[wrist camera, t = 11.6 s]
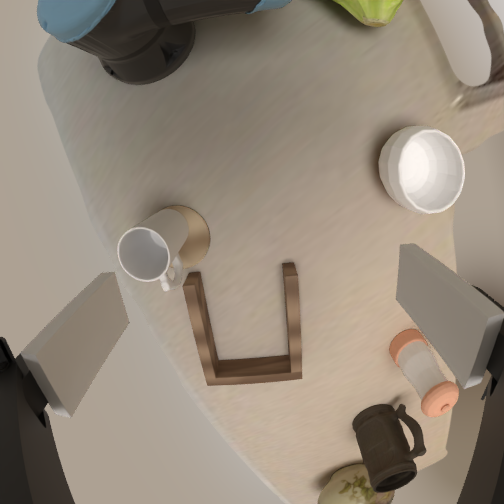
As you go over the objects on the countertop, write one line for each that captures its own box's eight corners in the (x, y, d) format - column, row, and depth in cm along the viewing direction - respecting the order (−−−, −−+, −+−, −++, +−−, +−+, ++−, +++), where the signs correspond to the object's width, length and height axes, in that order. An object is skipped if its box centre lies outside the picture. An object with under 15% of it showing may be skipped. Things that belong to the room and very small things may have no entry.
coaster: (142, 210, 45) (141, 211, 45) (204, 201, 45) (204, 202, 44) (155, 270, 49) (154, 271, 48) (214, 264, 48) (214, 265, 48)
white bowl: (429, 207, 44) (461, 222, 35) (364, 200, 44) (388, 213, 35) (436, 135, 40) (471, 135, 31) (370, 120, 40) (397, 115, 31)
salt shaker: (382, 354, 54) (418, 424, 36) (403, 324, 52) (449, 391, 34) (407, 361, 55) (444, 427, 37) (427, 334, 53) (472, 396, 34)
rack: (189, 272, 49) (182, 286, 44) (293, 262, 48) (297, 275, 43) (210, 368, 55) (207, 385, 50) (299, 361, 54) (302, 378, 49)
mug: (141, 217, 45) (107, 240, 34) (178, 199, 44) (153, 217, 33) (170, 273, 48) (147, 311, 37) (207, 258, 47) (192, 293, 36)
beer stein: (377, 434, 63) (401, 492, 44) (342, 432, 62) (362, 496, 43) (409, 391, 59) (445, 449, 40) (374, 386, 58) (407, 452, 39)
